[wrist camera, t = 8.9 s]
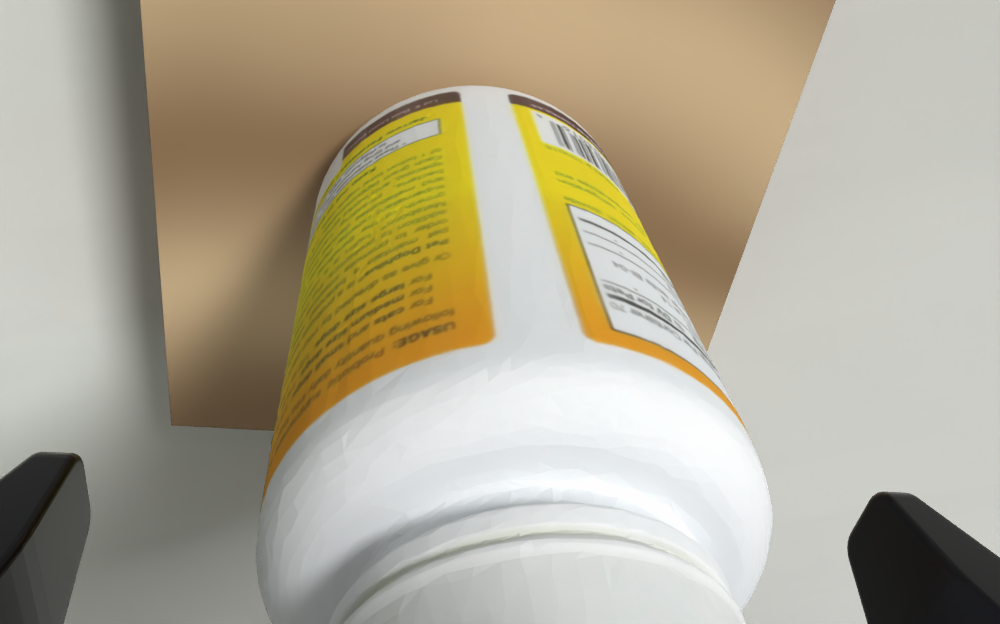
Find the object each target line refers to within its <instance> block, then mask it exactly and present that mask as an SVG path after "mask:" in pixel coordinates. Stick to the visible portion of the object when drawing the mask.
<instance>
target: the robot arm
mask: <svg viewBox="0 0 1000 624" xmlns="http://www.w3.org/2000/svg"><path fill="white" fill-rule="evenodd" d="M89 525H90V503H89V496H88V490H87V484H86V477H85V471H84V465H83V461H82V459H81V458H80V456H78V455H77V454H74V453H57V452H39V453H36V454H34V455H32V456H30V457H29V458H27V459H26V460H25V461H23V462H22V463H21V464H19V465H18V466H17V467H16V468H14V469H13V470H12V471H10V472H9V473H8V474H6V475H5V476H4V477H3V478H1V479H0V624H64V620H65V616H66V612H67V609H68V605H69V601H70V598H71V594H72V590H73V586H74V583H75V579H76V575H77V572H78V568H79V564H80V560H81V557H82V553H83V549H84V546H85V542H86V538H87V534H88V530H89ZM847 549H848V557H849V561H850V565H851V568H852V572H853V575H854V578H855V582H856V585H857V589H858V592H859V596H860V599H861V603H862V606H863V610H864V613H865V616H866V620H867V623H868V624H1000V557H998V556H997V555H995V554H994V553H993V552H991V551H990V550H989V549H987V548H986V547H984V546H983V545H982V544H980V543H979V542H978V541H976V540H975V539H974V538H972V537H971V536H969V535H968V534H967V533H965V532H964V531H963V530H961V529H960V528H958V527H957V526H956V525H954V524H953V523H952V522H950V521H949V520H947V519H946V518H945V517H943V516H942V515H941V514H939V513H938V512H936V511H935V510H934V509H932V508H931V507H930V506H928V505H927V504H926V503H924V502H923V501H921V500H920V499H919V498H917V497H916V496H914V495H912V494H909V493H900V492H879V493H877V494H875V495H874V496H872V498H871V499H870V500H869V502H868V504H867V506H866V507H865V509H864V511H863V513H862V514H861V516H860V518H859V520H858V521H857V523H856V525H855V527H854V528H853V530H852V532H851V534H850V536H849V539H848V547H847Z"/></svg>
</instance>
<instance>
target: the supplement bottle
mask: <svg viewBox="0 0 1000 624" xmlns="http://www.w3.org/2000/svg"><path fill="white" fill-rule="evenodd" d="M772 521H773V516H772V506H771V499H770V494H769V490H768V485H767V481H766V477H765V474H764V471H763V469H762V466H761V463H760V460H759V458H758V455H757V452H756V450H755V447H754V445H753V443H752V441H751V439H750V437H749V435H748V432H747V430H746V428H745V426H744V424H743V422H742V421H741V419H740V417H739V415H738V413H737V411H736V409H735V407H734V405H733V403H732V401H731V399H730V397H729V395H728V393H727V391H726V389H725V387H724V385H723V382H722V380H721V378H720V376H719V373H718V372H717V370H716V369H715V367H714V365H713V363H712V362H711V360H710V358H709V356H708V354H707V352H706V350H705V348H704V346H703V344H702V342H701V340H700V338H699V336H698V334H697V332H696V330H695V328H694V326H693V324H692V322H691V320H690V318H689V316H688V314H687V312H686V310H685V308H684V306H683V304H682V303H681V301H680V299H679V297H678V295H677V293H676V291H675V289H674V287H673V285H672V283H671V281H670V279H669V277H668V275H667V273H666V271H665V269H664V267H663V265H662V263H661V261H660V259H659V257H658V255H657V253H656V251H655V250H654V248H653V246H652V244H651V242H650V240H649V238H648V236H647V234H646V232H645V230H644V228H643V226H642V224H641V222H640V220H639V218H638V216H637V214H636V212H635V210H634V208H633V206H632V204H631V202H630V200H629V198H628V196H627V195H626V193H625V191H624V189H623V186H622V185H621V183H620V181H619V179H618V177H617V175H616V173H615V171H614V170H613V168H612V166H611V164H610V162H609V160H608V159H607V157H606V156H605V154H604V152H603V151H602V149H601V148H600V146H599V145H598V144H597V143H596V141H595V140H594V139H593V138H592V136H591V135H590V134H589V133H588V132H587V131H586V130H585V129H584V128H583V127H581V126H580V125H579V124H578V123H577V122H576V121H575V120H574V119H572V118H571V117H570V116H568V115H567V114H565V113H564V112H562V111H561V110H559V109H557V108H556V107H554V106H553V105H551V104H549V103H547V102H545V101H543V100H540V99H538V98H535V97H533V96H530V95H527V94H524V93H520V92H517V91H513V90H509V89H505V88H499V87H492V86H475V85H470V86H454V87H448V88H442V89H437V90H432V91H428V92H425V93H421V94H418V95H416V96H413V97H411V98H408V99H406V100H403V101H401V102H399V103H397V104H395V105H393V106H391V107H389V108H388V109H386V110H384V111H383V112H381V113H380V114H378V115H377V116H375V117H374V118H372V119H371V120H369V121H368V122H367V123H366V124H364V125H363V126H362V127H361V128H360V129H359V130H358V131H357V132H356V133H355V134H354V135H353V136H352V137H351V138H350V139H349V140H348V141H347V142H346V144H345V145H344V146H343V148H342V149H341V150H340V151H339V153H338V154H337V156H336V158H335V159H334V161H333V162H332V164H331V166H330V168H329V170H328V172H327V174H326V175H325V177H324V180H323V183H322V186H321V188H320V191H319V194H318V198H317V202H316V207H315V211H314V215H313V219H312V226H311V232H310V237H309V243H308V249H307V255H306V260H305V265H304V270H303V276H302V282H301V288H300V293H299V299H298V305H297V310H296V315H295V321H294V327H293V333H292V338H291V343H290V349H289V354H288V360H287V365H286V369H285V376H284V382H283V387H282V392H281V398H280V404H279V408H278V414H277V420H276V425H275V429H274V435H273V439H272V442H271V452H270V458H269V465H268V471H267V476H266V481H265V487H264V493H263V499H262V504H261V510H260V520H259V530H258V539H257V548H256V563H257V573H258V583H259V587H260V591H261V594H262V598H263V601H264V604H265V607H266V610H267V613H268V615H269V618H270V620H271V622H272V624H746V622H745V619H744V617H743V614H742V610H743V609H744V607H745V606H746V604H747V602H748V601H749V599H750V597H751V595H752V594H753V592H754V590H755V588H756V586H757V584H758V581H759V579H760V576H761V574H762V571H763V569H764V566H765V563H766V559H767V556H768V551H769V545H770V539H771V532H772Z"/></svg>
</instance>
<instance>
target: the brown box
mask: <svg viewBox="0 0 1000 624" xmlns="http://www.w3.org/2000/svg"><path fill="white" fill-rule="evenodd" d="M835 1H836V0H140V6H141V20H142V34H143V47H144V61H145V74H146V88H147V101H148V115H149V128H150V142H151V155H152V169H153V182H154V196H155V209H156V223H157V237H158V250H159V264H160V277H161V291H162V304H163V318H164V331H165V345H166V358H167V372H168V385H169V399H170V412H171V425H177V426H195V427H214V428H232V429H251V430H269V431H274V429H275V425H276V420H277V414H278V408H279V404H280V398H281V392H282V387H283V382H284V376H285V369H286V365H287V360H288V354H289V349H290V343H291V338H292V333H293V327H294V321H295V315H296V310H297V305H298V299H299V293H300V288H301V282H302V276H303V270H304V265H305V260H306V255H307V249H308V243H309V237H310V232H311V226H312V219H313V215H314V211H315V207H316V202H317V198H318V194H319V191H320V188H321V186H322V183H323V180H324V177H325V175H326V174H327V172H328V170H329V168H330V166H331V164H332V162H333V161H334V159H335V158H336V156H337V154H338V153H339V151H340V150H341V149H342V148H343V146H344V145H345V144H346V142H347V141H348V140H349V139H350V138H351V137H352V136H353V135H354V134H355V133H356V132H357V131H358V130H359V129H360V128H361V127H362V126H363V125H364V124H366V123H367V122H368V121H369V120H371V119H372V118H374V117H375V116H377V115H378V114H380V113H381V112H383V111H384V110H386V109H388V108H389V107H391V106H393V105H395V104H397V103H399V102H401V101H403V100H406V99H408V98H411V97H413V96H416V95H418V94H421V93H425V92H428V91H432V90H437V89H442V88H448V87H454V86H470V85H475V86H492V87H499V88H505V89H509V90H513V91H517V92H520V93H524V94H527V95H530V96H533V97H535V98H538V99H540V100H543V101H545V102H547V103H549V104H551V105H553V106H554V107H556V108H557V109H559V110H561V111H562V112H564V113H565V114H567V115H568V116H570V117H571V118H572V119H574V120H575V121H576V122H577V123H578V124H579V125H580V126H581V127H583V128H584V129H585V130H586V131H587V132H588V133H589V134H590V135H591V136H592V138H593V139H594V140H595V141H596V143H597V144H598V145H599V146H600V148H601V149H602V151H603V152H604V154H605V156H606V157H607V159H608V160H609V162H610V164H611V166H612V168H613V170H614V171H615V173H616V175H617V177H618V179H619V181H620V183H621V185H622V186H623V189H624V191H625V193H626V195H627V196H628V198H629V200H630V202H631V204H632V206H633V208H634V210H635V212H636V214H637V216H638V218H639V220H640V222H641V224H642V226H643V228H644V230H645V232H646V234H647V236H648V238H649V240H650V242H651V244H652V246H653V248H654V250H655V251H656V253H657V255H658V257H659V259H660V261H661V263H662V265H663V267H664V269H665V271H666V273H667V275H668V277H669V279H670V281H671V283H672V285H673V287H674V289H675V291H676V293H677V295H678V297H679V299H680V301H681V303H682V304H683V306H684V308H685V310H686V312H687V314H688V316H689V318H690V320H691V322H692V324H693V326H694V328H695V330H696V332H697V334H698V336H699V338H700V340H701V342H702V344H703V346H704V348H705V350H706V352H707V350H708V347H709V344H710V342H711V339H712V336H713V334H714V331H715V328H716V325H717V323H718V320H719V317H720V314H721V312H722V309H723V306H724V304H725V301H726V298H727V295H728V293H729V290H730V287H731V284H732V282H733V279H734V276H735V274H736V271H737V268H738V265H739V263H740V260H741V257H742V254H743V252H744V249H745V246H746V243H747V241H748V238H749V235H750V233H751V230H752V227H753V224H754V222H755V219H756V216H757V213H758V211H759V208H760V205H761V203H762V200H763V197H764V194H765V192H766V189H767V186H768V183H769V181H770V178H771V175H772V173H773V170H774V167H775V164H776V162H777V159H778V156H779V153H780V151H781V148H782V145H783V143H784V140H785V137H786V134H787V132H788V129H789V126H790V123H791V121H792V118H793V115H794V113H795V110H796V107H797V104H798V102H799V99H800V96H801V93H802V91H803V88H804V85H805V82H806V80H807V77H808V74H809V72H810V69H811V66H812V63H813V61H814V58H815V55H816V52H817V50H818V47H819V44H820V42H821V39H822V36H823V33H824V31H825V28H826V25H827V22H828V20H829V17H830V14H831V12H832V9H833V6H834V3H835Z"/></svg>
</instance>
